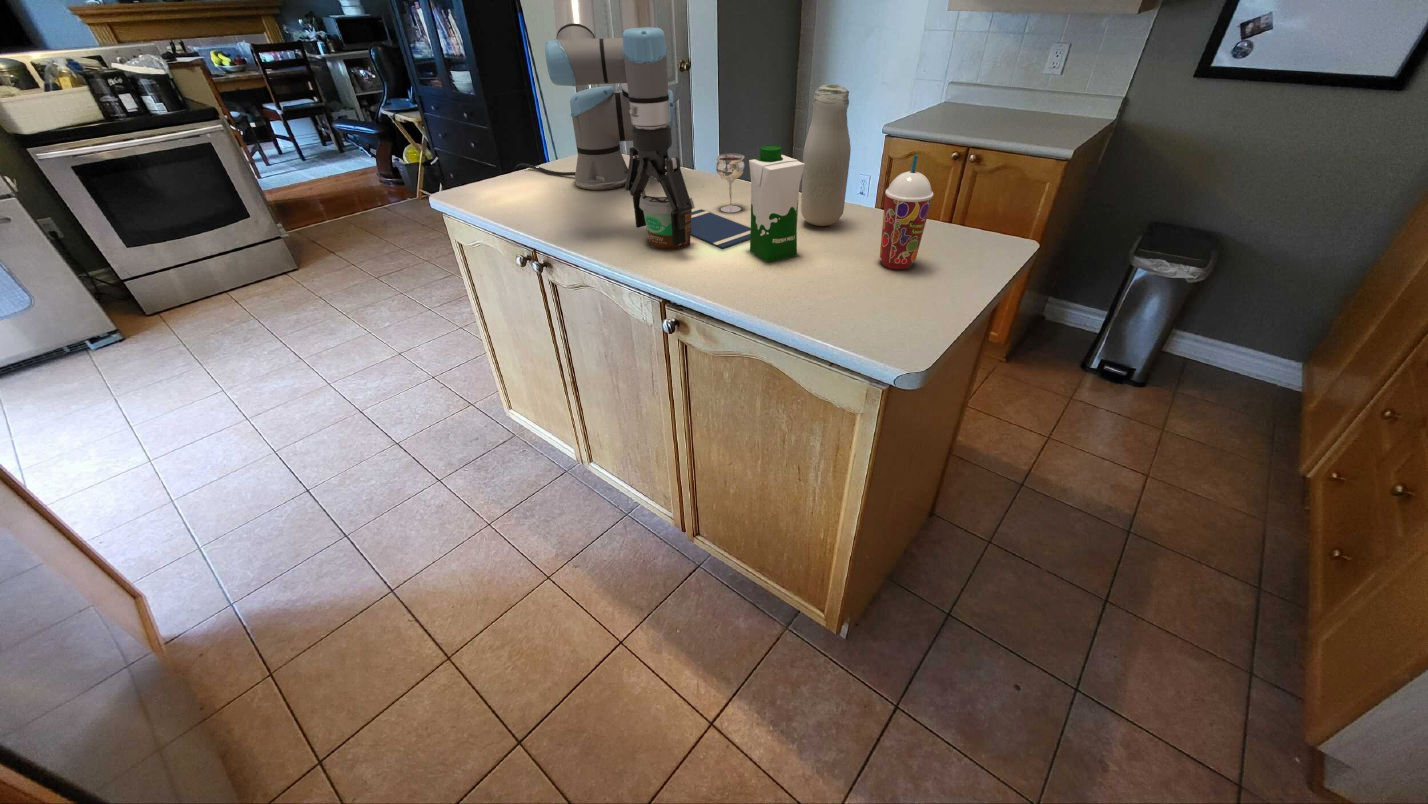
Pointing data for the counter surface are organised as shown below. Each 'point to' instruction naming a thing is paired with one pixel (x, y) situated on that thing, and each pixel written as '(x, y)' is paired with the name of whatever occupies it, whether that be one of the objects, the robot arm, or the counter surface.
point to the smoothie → (904, 218)
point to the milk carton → (774, 204)
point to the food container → (662, 222)
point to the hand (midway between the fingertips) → (660, 234)
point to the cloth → (717, 229)
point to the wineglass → (730, 174)
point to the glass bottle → (826, 157)
